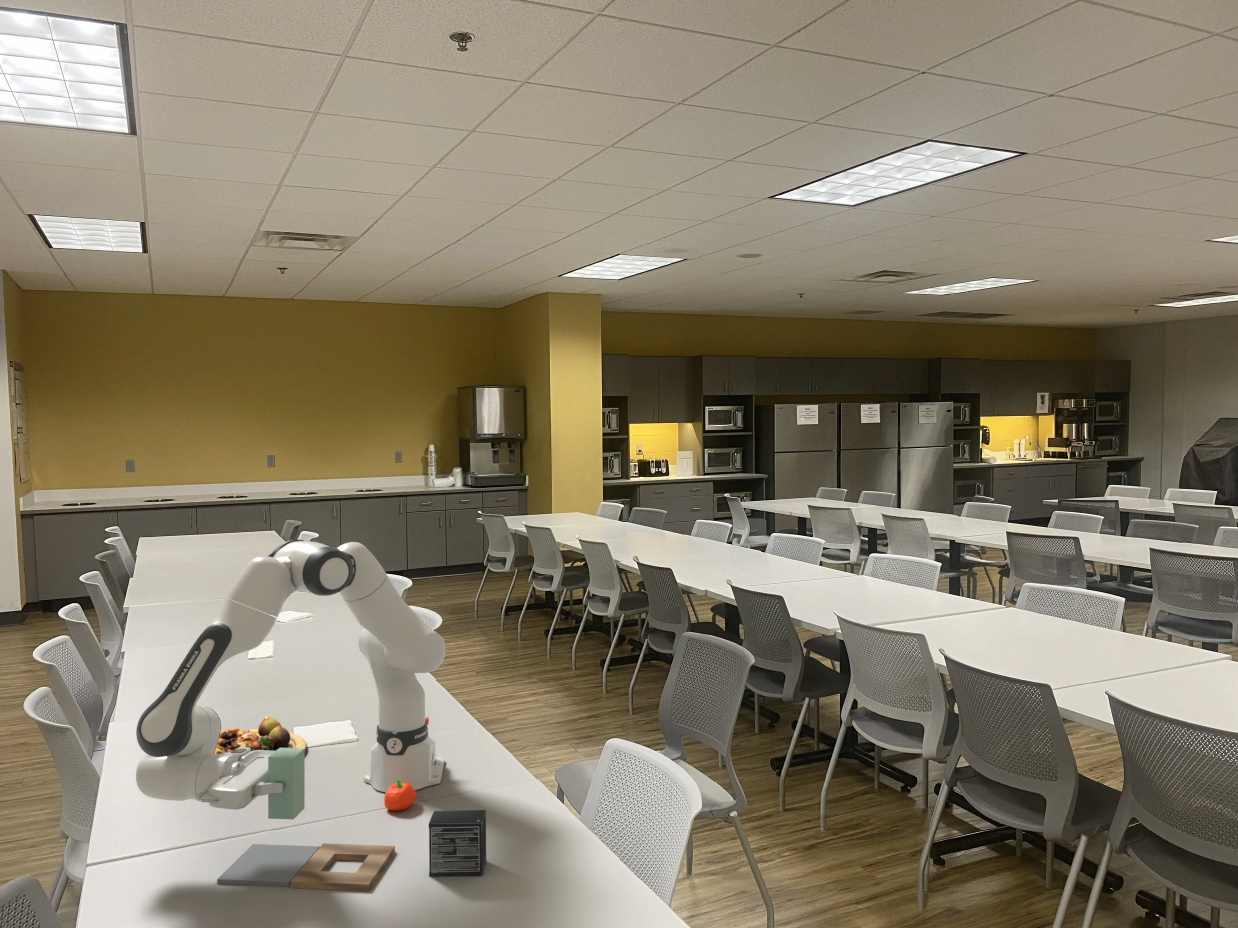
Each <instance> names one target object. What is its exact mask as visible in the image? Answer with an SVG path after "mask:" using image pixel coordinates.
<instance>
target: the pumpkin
mask: <svg viewBox="0 0 1238 928" xmlns="http://www.w3.org/2000/svg"><path fill="white" fill-rule="evenodd" d="M383 798H384V799H383V800H384V802H383V803H384V808H386V809H388V810H390V811H394V812H395V811H402V810H403V811H404V810H405V809H408V808H409V807H410V806H411V805H412V804H414V802H415V801H416V798H417V792H416V790H414V789H413V787H412V786H411V785H410V784H408V783H401V782H400V780H399V779H398V780H397V783H396V784H392V785H391V786H390V787H389V788H388V789H387V791H386V792H384V797H383Z"/></svg>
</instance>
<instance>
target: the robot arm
mask: <svg viewBox="0 0 1238 928" xmlns="http://www.w3.org/2000/svg"><path fill="white" fill-rule="evenodd" d="M296 591H298V592H302V593H307V594H314V595H315V596H321V597H324V596H325V597H326V596H327V597H328V596H333V595H336V594H338V593H339V594H340V596H341V598H342V599H343V601H344V602H345V605H346V606H347V607H348V609H349V610H350V612H351V613H352V615H353V616H354V618H355V620H356V621H357V623H358V624H359V625H360V626H361V627H362V629H361V631H360V633H359V636H358V643H357V644H358V649H359V651H360V653H361V654H362V656H363V657H364V658H365V660H366V661H367V663H368V665H369V668H370V671H371V674H372V677H373V681H374V685H375V688H376V694H377V709H378V710H377V712H378V717H377V718H378V724H377V725H376V731H375V733H376V734H375V736H376V743H375V744H374V745H373V746H372V747H371V750H370V761H369V762H370V763H369V772H368V773H367V774H365V776H364V778H363V782H365V783H367V784H368V785H369V784H370V786H371V787H372V788H373V789H375V790H376V791H379V792H383V793H386V791H387V789H388V788H389V787H390V786H391V785H392V784H396V783H397V780H398V779H399V780H400V782H401V783H408V784H410V785H411V786H412V787H413V789H414V790H415V791H417V790H421V789H423V788H426V787H429V786H433V785H438V784H440V783H441V782H442V778H443V771H444V767H445V757H443V756H440V755H436V742H435V740H433V739H432V738H431V737H430V736H429V728H428V727H429V723H430V717H429V716H426V693H425V689H424V687H423V686H422V684H421V683H420V682H419V680H418V679H417V676H416V674H426V673H427V674H428V673H432V672H434V671H436V670H437V669H439V667H440V666H441V665H442V664H443V661H444V660H445V657H446V651H447V649H446V648H447V647H446V643H445V640H444V638H443V636H442V635H440V634H439V633H437V631H435V630H433V629H432V628H431V627H430V626H429V625H427V623H426V622H424V621H423V620H422V618H421V617H420V616H419V615H418V614H417V613H416V612H415V611H414V610H413V609H412V608H411V607H410V606H409V605H408V604H407V603H406V602H405V600H404V599H403V598H402V597H401V595H400V594H399V592H398V590H397V589H396V588H395V585H394V584H393V582H392V581H391V579H390V578H389V576H388V575H387V573H386V571H385V570H384V568H383V566H382V565H381V563H380V562H379V560H378V559H377V558H376V556H375V555H374V554H373V553H372V552H371V551H370V550H369V549H368V548H367V547H366V546H365V545H364V544H362V543H361V542H357V541H349V542H345V543H343V544H341V545H339V546H337V547H334V546H330V545H326V544H324V543H321V542H317V541H305V540H303V539H290V540H287V541H284V542H282V543H280V544H279V545H277V547H275V549H273V551H272V552H271V553H270V554H269V555H267V556H263V555H262V556H257V557H254V558H252V559H251V560H250V561H249V562H248V563H247V564H246V566H245V567H243V569H242V571H241V572H240V574H239V575H238V576H237V578H236V579H235V581H234V582H233V584H232V586H231V588H230V589H229V591H228V593H227V595H226V597H225V599H224V600H223V602H222V605H221V606H220V607H219V609H218V611H217V612H216V614H215V616H214V617H213V619H212V620H211V622H210V623H209V624H208V626H206V628H205V629H204V630H203V631H202V632H201V633H200V635H199V636H198V637H197V639H196V640H195V641H194V643H193V644H192V645H191V648H190V649H189V651H188V652H187V654H186V655H185V657H183V660H182V662H181V663H180V665H179V667H178V668H177V670H176V672H175V673H174V674H173V676H172V678H171V679H170V681H169V683H168V684H167V686H166V687H165V689H164V690H163V691H162V692H161V694H160V695H159V696H158V697H157V699H155V700H154V701H153V702H152V703H151V704H150V705H149V706H148V707H147V708H146V709H145V710H144V711H143V712H142V713H141V715H140V717H139V719H138V722H137V725H136V729H135V730H136V732H135V733H136V734H135V735H136V740H137V744H138V746H139V748H140V749H141V750H142V751H143V752H144V753H145V754H146V755H145V756H144V757H142V758H141V759H140V761H139V762H138V763H137V767H136V771H135V772H136V773H135V778H136V779H135V780H136V781H135V782H136V785H137V788H138V790H139V792H141V793H142V795H144V796H146V797H148V798H150V799H151V798H152V799H157V800H163V801H174V802H175V801H176V802H177V801H178V802H180V801H181V802H182V801H187V800H195V801H197V802H201V803H208V804H209V805H208V806H210V807H212V808H217V809H225V810H234V811H235V810H241V809H245V808H246V807H247V806H248V805H249V804H250V803H252V802H253V801H254V800H255V799H257V797H262V796H266V795H267V796H268V794H271V793H281V792H282V791H283V790H284V789H285V782H284V781H275V782H273V783H268V757H269V756H270V755H271V754H273V753H274V752H275V751H268V750H255V751H250V748H245V747H244V748H239V749H237V750H234V751H231V752H228V753H221V754H214V752H215V749H216V746H217V743H218V740H219V736H220V732H221V731H222V723H221V719H220V716H219V714H218V713H217V712H216V711H215V710H214V709H212V708H210V707H208V706H204V705H203V706H202V705H197V703H198V701H199V700H200V698H201V696H202V694H203V693H204V691H205V690H206V688H207V686H208V684H209V683H210V682H211V680H212V678H213V676H214V675H215V673H216V672H217V670H218V669H219V668H220V666H221V665H223V664H224V663H225V662H226V661H228V660H229V659H231V658H233V657H235V656H237V655H240V654H242V653H246V652H249V651H252V650H254V649H255V648H258V647H259V646H261V645H262V643H263V642H264V641H265V639H266V638H267V637H268V636H269V634H270V632H271V631H272V629H273V627H274V625H275V623H276V621H277V620H278V617H279V615H280V612H282V611H281V610H282V608H283V606H284V603H285V602H286V601H287V599H288V598H289V597H290V596H291V595H292V594H294V592H296Z"/></svg>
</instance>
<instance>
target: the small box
mask: <svg viewBox="0 0 1238 928" xmlns="http://www.w3.org/2000/svg"><path fill="white" fill-rule="evenodd" d="M428 834H429V835H428V843H429V844H428V849H429V850H428V851H429V854H428V857H429V861H428V863H429V871H428V876H429V877H465V876H466V877H468V876H470V877H471V876H477V877H478V876H483V875H484V873H485V868H486V865H487V810H486V809H469V810H468V809H467V810H464V809H463V810H462V809H461V810H434V811H433V812H432V815H431V817H430V819H429V822H428Z"/></svg>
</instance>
